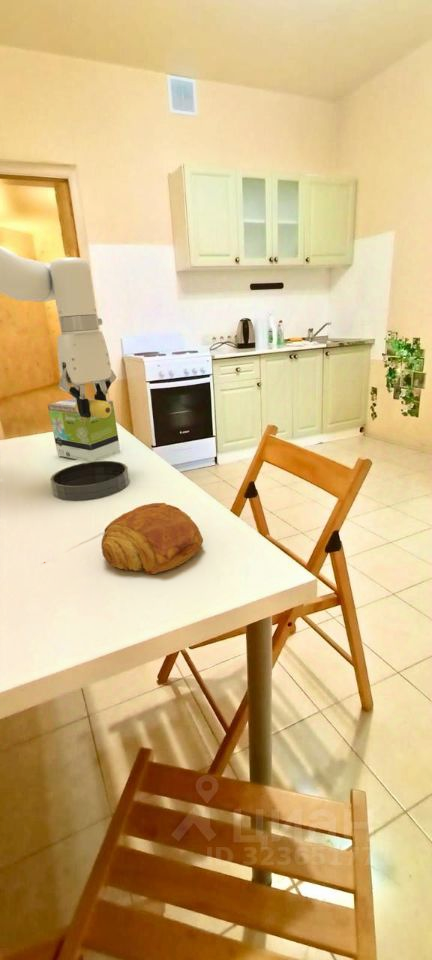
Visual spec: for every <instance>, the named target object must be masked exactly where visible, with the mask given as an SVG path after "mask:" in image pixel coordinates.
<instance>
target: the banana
mask: <svg viewBox="0 0 432 960" xmlns="http://www.w3.org/2000/svg"><path fill="white" fill-rule="evenodd" d="M93 399H94V398H89V399H88V401H89V407H90V413H91V416H93V417H99V418H106V417H108V416H109V415H110V414H111V411H112V408H111V405H110V404H109V403H108V402H106V401H101V400H93ZM75 409H76V411H77V412H78V413H79V411H78V406H77V402H76V404H75ZM79 414H80V413H79Z"/></svg>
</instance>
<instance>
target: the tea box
mask: <svg viewBox="0 0 432 960" xmlns="http://www.w3.org/2000/svg"><path fill="white" fill-rule="evenodd" d="M85 398H86V399H90V398H87V397H85ZM92 399H93V400H95V398H92ZM106 400H107V399H106ZM76 402H77V400H76V398H74V397H72V398H68V399H63V400H60V401H56V402H53V403H47V410H48V415H49V419H50V424H51V428H52V433H53V438H54V443H55V447H56V452H57V456H58V457H63V458H64V457H65V458H68V459H73V460H78V461H84V462H87V463H88V462H96V461H101V460H102V459H105V458H108V457H110V456H113V455H116V454H119V453H121V449H120V442H119V441H120V440H119V434H118V428H117V419H116V413H115V407H114V401H113V400H107V402H108V403H109V404H110V405H111V408H112V411H111V414H110V415H109V416H108V417H106V418H99V417H93V416H91V417H89V418H86V417H81V416H80V414H79V413H78V412H77V411H76V409H75V404H76Z"/></svg>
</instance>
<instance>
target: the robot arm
mask: <svg viewBox="0 0 432 960" xmlns="http://www.w3.org/2000/svg"><path fill="white" fill-rule="evenodd" d="M0 293H1V295H2V294H3V295H4V296H6V297H9V298H11V299H13V300H16V301H20V302H34V303H47V302H51V301H54V300H55V306H56V311H57V316H58V322H59V328H60V334H57V342H56V343H57V344H56V345H57V347H56V348H57V362H58V370H59V376H60V377H59V378H60V379H59V382H58V385H57V386H58V389H59V390H62V391H64V392H67V393H68V394H70V395H71V396H72V398H76V400H77V406H78V411H79V413H80V416H81V417H86V418H89V417H91V413H90V407H89V401H88V399H86V398H87V397H86V384H90V383H93V387H94V390H95V394H94V399H95V400H101V401H106V402H107V395H108V394H109V389H110V387H111V385H112V384H113V383H114V382H115V381H116V379H117V375H116V374H115V372H114V371H113V370H112V364H111V360H110V354H109V349H108V346H107V342H106V339H105V337H104V334H103V331H100V326H102V325H103V320H102V318H99V316H98V313H97V305H96V299H95V292H94V285H93V279H92V272H91V267H90V264H89V261H88V260H87V259H85V258H83V257H77V256H76V257H74V256H68V257H67V256H66V257H65V256H64V257H58V258H54V259H53V260H51V262H47V261H44V262H43V261H39V260H35V259H32V258H27V257H22V256H20V255H18V254H16V253H15V252H12V251H10V250H9V249H8V248H6V247H4V246H2V245H0ZM70 384H72V385H70Z"/></svg>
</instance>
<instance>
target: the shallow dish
mask: <svg viewBox="0 0 432 960" xmlns="http://www.w3.org/2000/svg"><path fill="white" fill-rule="evenodd" d="M49 481H50V485H51V490H52V494H53V496H54V497H55V498H57V499H60V500H62V501H68V502H71V501H72V502H81V501H82V502H83V501H90V500H97V499H102V498H106V497H109V496H112V495H114V494H117V493H120V492H121V491H123V490H124V489H125V488H127V487H128V486H129V484H130V481H131V480H130V473H129V467H128V466H127V465H126V464H125V463H123V462H119V461H114V460H98V461H95V462H88V461H87V462H82V463H78V464H74V465H70V466H67V467H65V468H63V469H61V470H58V471H56V472H55V473H53V474H52V475H51V477H50V479H49Z"/></svg>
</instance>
